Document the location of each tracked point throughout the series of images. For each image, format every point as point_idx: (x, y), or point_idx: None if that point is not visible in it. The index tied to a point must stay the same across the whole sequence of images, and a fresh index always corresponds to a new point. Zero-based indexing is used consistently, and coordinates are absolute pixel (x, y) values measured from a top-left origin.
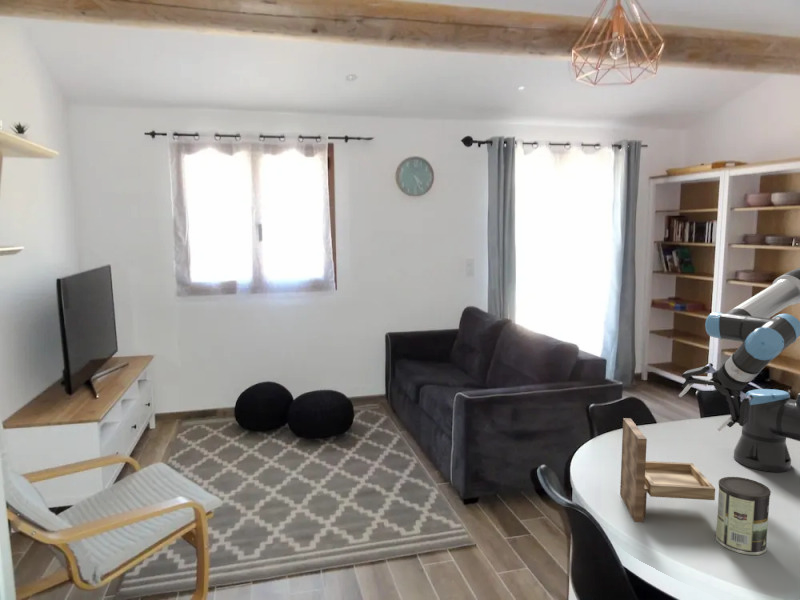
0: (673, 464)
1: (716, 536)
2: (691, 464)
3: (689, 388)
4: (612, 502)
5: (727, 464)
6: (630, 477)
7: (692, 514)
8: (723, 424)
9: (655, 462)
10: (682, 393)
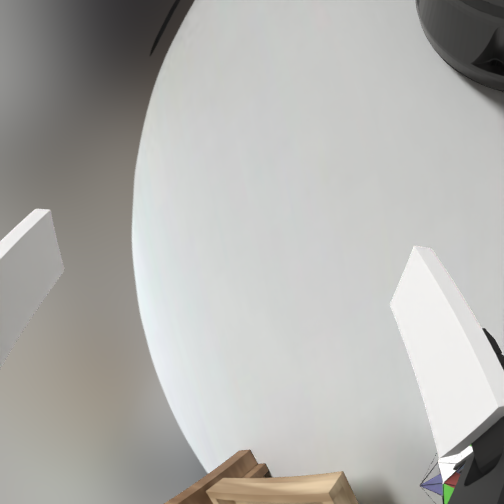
0: (282, 501)
1: None
2: (325, 501)
3: (5, 269)
4: None
5: (431, 100)
6: None
7: (371, 493)
8: (418, 373)
9: (242, 499)
10: (36, 299)
